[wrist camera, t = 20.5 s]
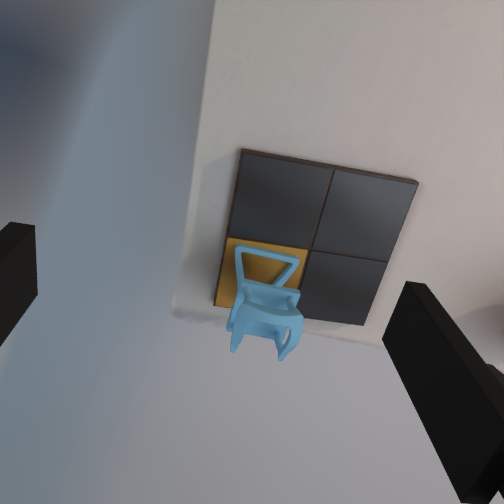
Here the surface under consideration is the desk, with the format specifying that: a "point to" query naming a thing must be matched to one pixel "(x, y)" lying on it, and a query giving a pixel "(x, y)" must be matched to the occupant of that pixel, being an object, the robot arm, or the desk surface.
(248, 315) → the chair
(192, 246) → the desk surface
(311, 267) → the board
